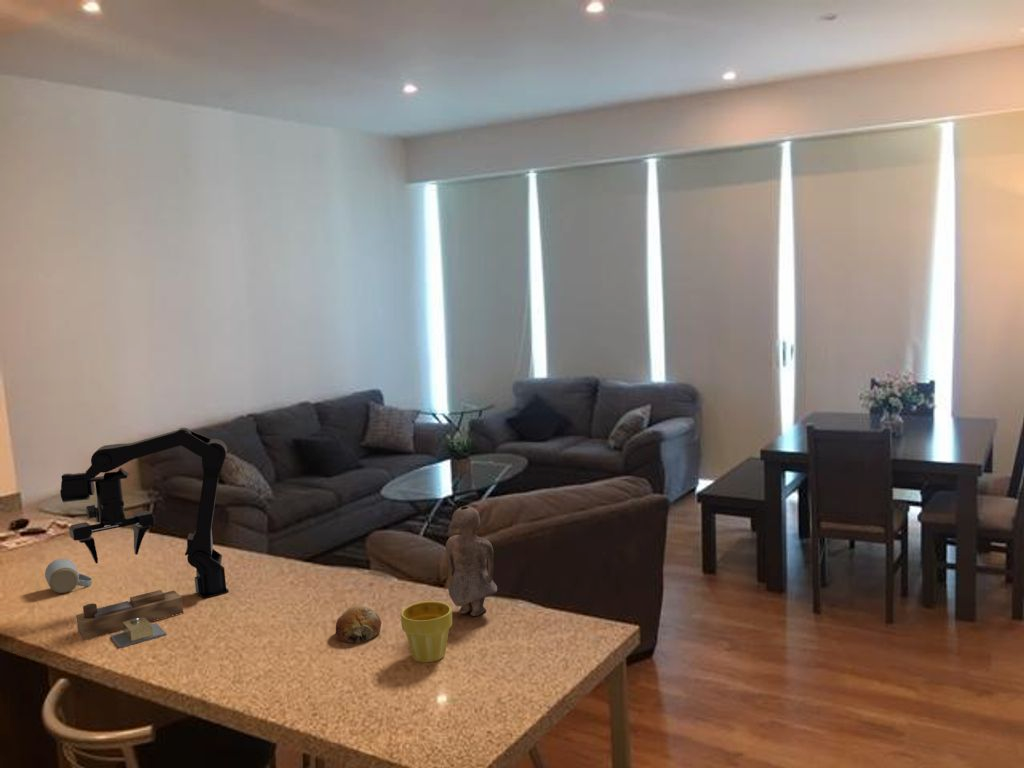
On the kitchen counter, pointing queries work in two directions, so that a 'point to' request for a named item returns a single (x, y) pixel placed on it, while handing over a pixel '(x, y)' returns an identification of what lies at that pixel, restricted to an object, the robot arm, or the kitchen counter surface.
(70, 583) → the ceramic mug
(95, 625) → the plane body
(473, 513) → the clay figurine
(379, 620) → the bread roll
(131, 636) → the lever cap
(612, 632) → the kitchen counter surface
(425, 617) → the plant pot
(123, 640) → the mat
